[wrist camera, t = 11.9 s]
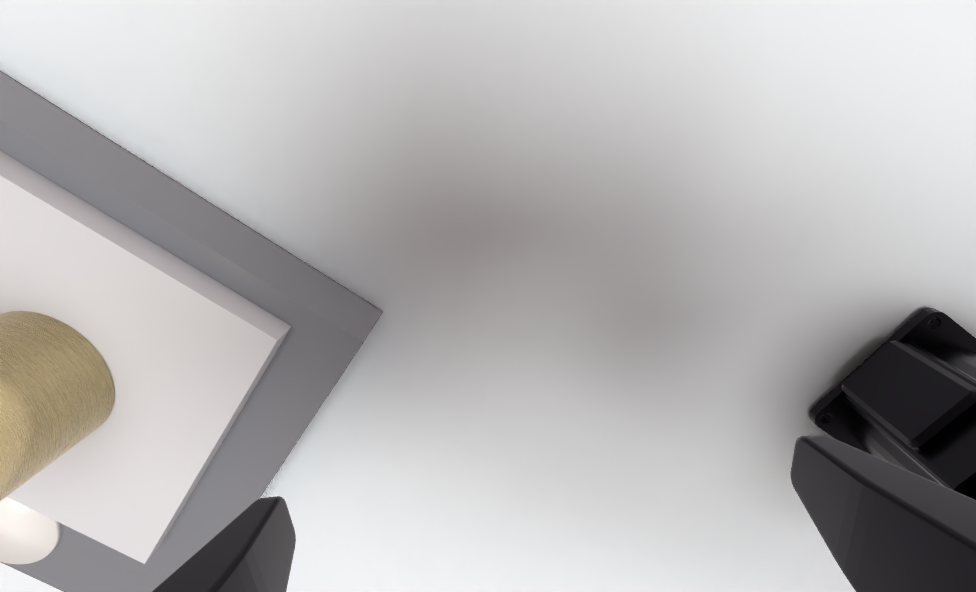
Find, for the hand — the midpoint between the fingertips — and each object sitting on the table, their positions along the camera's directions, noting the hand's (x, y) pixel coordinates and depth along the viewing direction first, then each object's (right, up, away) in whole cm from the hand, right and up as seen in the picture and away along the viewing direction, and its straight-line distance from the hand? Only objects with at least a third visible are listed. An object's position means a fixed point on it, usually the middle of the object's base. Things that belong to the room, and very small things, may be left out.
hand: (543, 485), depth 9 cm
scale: (-18, 0, +14) cm, 23 cm away
